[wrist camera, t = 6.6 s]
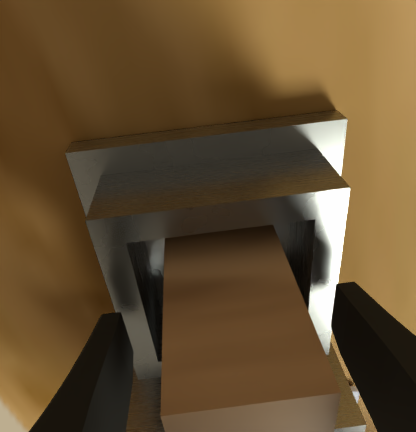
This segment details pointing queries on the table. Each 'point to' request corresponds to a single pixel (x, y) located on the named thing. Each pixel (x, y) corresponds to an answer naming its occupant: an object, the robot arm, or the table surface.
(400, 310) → the table surface
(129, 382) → the robot arm
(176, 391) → the brown rectangular block
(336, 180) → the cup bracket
